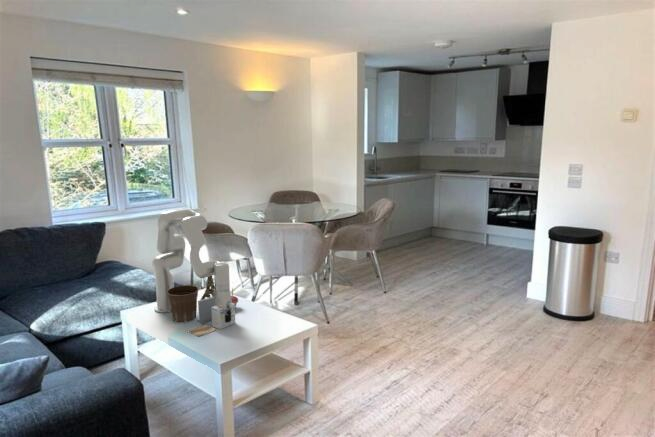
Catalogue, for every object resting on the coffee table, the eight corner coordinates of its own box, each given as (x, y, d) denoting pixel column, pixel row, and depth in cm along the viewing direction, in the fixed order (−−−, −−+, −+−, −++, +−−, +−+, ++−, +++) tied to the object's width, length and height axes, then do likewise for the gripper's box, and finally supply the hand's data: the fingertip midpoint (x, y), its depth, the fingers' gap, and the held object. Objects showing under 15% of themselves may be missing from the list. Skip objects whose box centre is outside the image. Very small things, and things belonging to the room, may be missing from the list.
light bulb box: (227, 320, 243) (226, 300, 241) (236, 323, 239) (235, 303, 237) (211, 326, 234) (210, 306, 232) (220, 329, 230) (219, 309, 228)
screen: (197, 321, 240) (196, 300, 238) (219, 314, 251) (218, 293, 249) (202, 324, 237) (201, 302, 235) (224, 316, 247) (223, 295, 245)
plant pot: (191, 325, 235) (189, 295, 233) (162, 323, 239) (160, 293, 236) (205, 314, 251) (204, 286, 249) (178, 312, 254) (177, 284, 252)
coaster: (187, 331, 228) (187, 330, 228) (204, 325, 236) (204, 324, 236) (198, 336, 222) (198, 335, 222) (215, 330, 229) (215, 329, 229)
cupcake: (231, 304, 266) (230, 284, 264) (241, 307, 261) (241, 287, 259) (220, 309, 259) (219, 288, 257) (230, 312, 254) (229, 291, 252)
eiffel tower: (222, 296, 281) (220, 256, 277) (216, 302, 271) (214, 261, 267) (206, 295, 283) (204, 256, 278) (199, 301, 272) (197, 260, 268)
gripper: (206, 285, 236) (207, 317, 239) (226, 292, 225) (227, 326, 227) (218, 281, 241) (219, 313, 244) (238, 288, 230) (239, 322, 233)
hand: (223, 319), depth 236 cm, fingers closed on light bulb box, 7 cm apart
